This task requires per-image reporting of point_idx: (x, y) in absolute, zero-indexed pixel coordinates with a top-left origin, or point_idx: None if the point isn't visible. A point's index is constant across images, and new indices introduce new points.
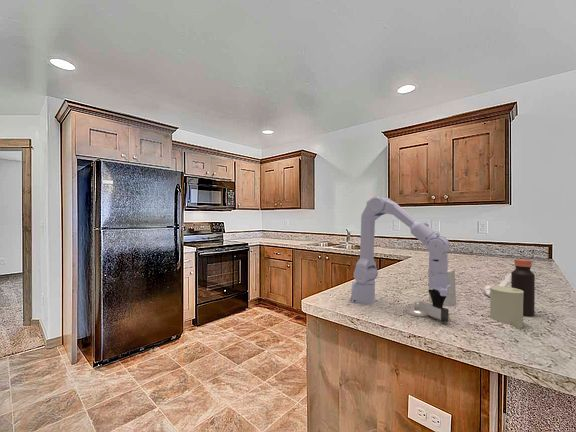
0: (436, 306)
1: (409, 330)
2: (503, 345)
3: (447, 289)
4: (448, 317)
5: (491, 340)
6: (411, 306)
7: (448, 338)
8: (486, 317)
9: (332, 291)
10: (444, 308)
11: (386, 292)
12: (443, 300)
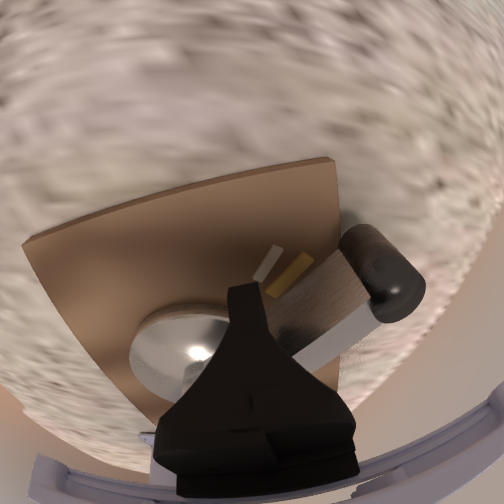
0: (317, 348)
1: (404, 341)
2: (457, 15)
3: (430, 472)
4: (381, 237)
5: (432, 31)
6: (170, 392)
7: (461, 220)
8: (18, 13)
9: (129, 467)
10: (388, 301)
11: (13, 392)
12: (286, 354)
